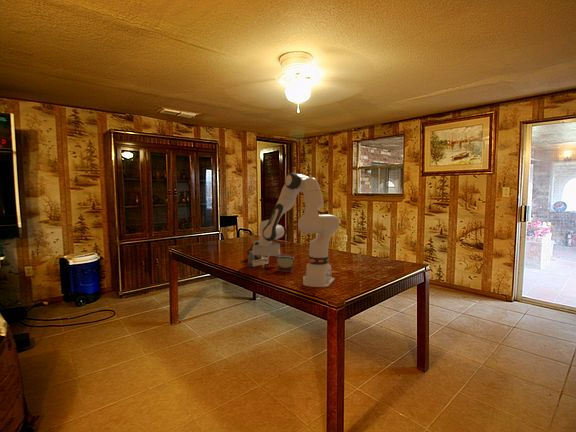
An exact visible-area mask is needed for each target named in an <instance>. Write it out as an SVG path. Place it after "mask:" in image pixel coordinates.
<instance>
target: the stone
mask: <svg viewBox="0 0 576 432" xmlns="http://www.w3.org/2000/svg"><path fill="white" fill-rule="evenodd" d="M258 240H259V239H257V240H256V241H258ZM253 246H254V245H253V243H252V244H251V246H250V248H249V249H248V250H247V252H246V254H247V255H249V254H250V251H252V248H253ZM261 257H263V255H255V259H256V260H258V259H261Z"/></svg>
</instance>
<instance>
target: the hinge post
mask: <svg viewBox="0 0 576 432" xmlns="http://www.w3.org/2000/svg"><path fill="white" fill-rule="evenodd" d="M247 255H248V254H247ZM247 257H248V258H247V259H248V263H247V264H248V267H247V268H248V269H250V268H251V269H252V268H253V267H252V255H251V254H249V255H248V256H247Z"/></svg>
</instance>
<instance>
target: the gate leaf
mask: <svg viewBox="0 0 576 432" xmlns="http://www.w3.org/2000/svg"><path fill="white" fill-rule="evenodd" d="M265 258H266V259H267V258H268V257H265ZM267 264H269V261H268V262H265V260H264V258H263V257H262V258H259V259H255V260H253V261H252V268H253V267H257V266H262V265H267Z"/></svg>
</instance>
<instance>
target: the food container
mask: <svg viewBox="0 0 576 432" xmlns="http://www.w3.org/2000/svg"><path fill="white" fill-rule="evenodd" d="M275 257H276V258H275V259H276V261H277V263H276V264H277V270H278V272H291V273H292V272H293V266H294V260H295V257H294V255H292V254H280V255H278V256H275Z"/></svg>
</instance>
